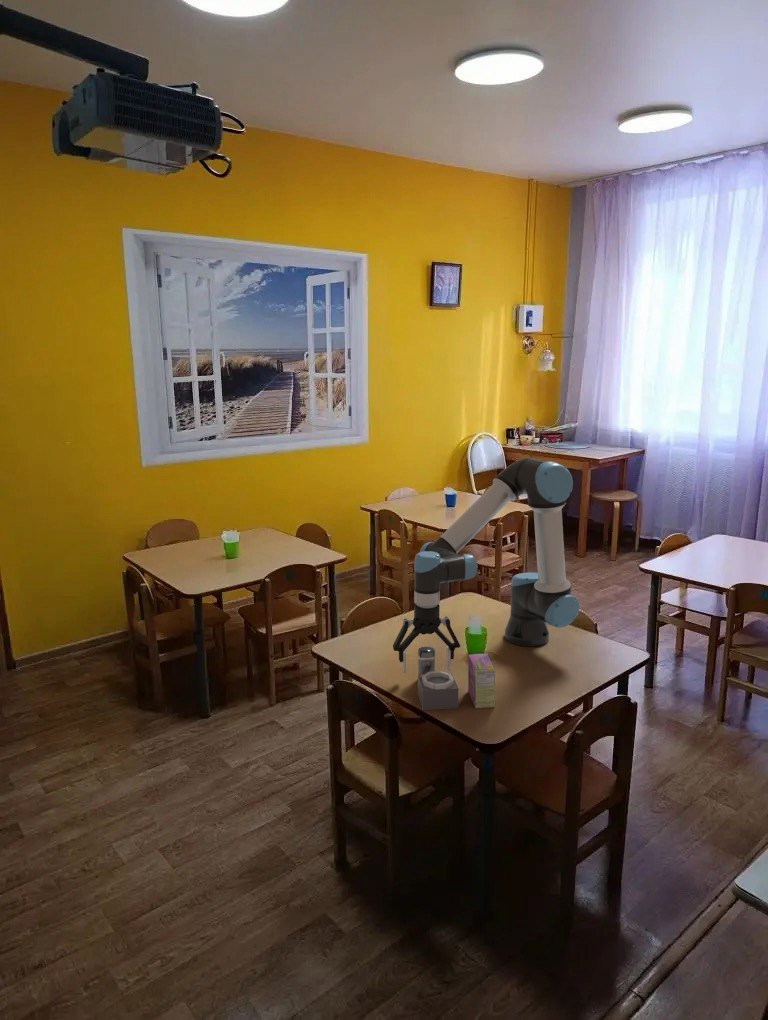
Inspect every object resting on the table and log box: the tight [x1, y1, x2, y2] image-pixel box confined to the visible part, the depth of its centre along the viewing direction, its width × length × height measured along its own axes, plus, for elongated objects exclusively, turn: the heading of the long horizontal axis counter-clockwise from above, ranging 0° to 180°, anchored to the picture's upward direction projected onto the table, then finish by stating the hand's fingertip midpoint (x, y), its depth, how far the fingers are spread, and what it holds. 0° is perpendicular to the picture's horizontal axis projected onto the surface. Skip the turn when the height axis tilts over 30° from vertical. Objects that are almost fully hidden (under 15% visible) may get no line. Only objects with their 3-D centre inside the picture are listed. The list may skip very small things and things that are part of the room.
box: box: [467, 653, 497, 709], centre depth 196 cm, size 10×6×12 cm, turn 5°
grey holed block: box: [417, 670, 459, 711], centre depth 196 cm, size 10×9×7 cm
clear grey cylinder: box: [417, 646, 436, 677], centre depth 208 cm, size 5×5×10 cm
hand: (426, 670), depth 208 cm, fingers open, 13 cm apart
